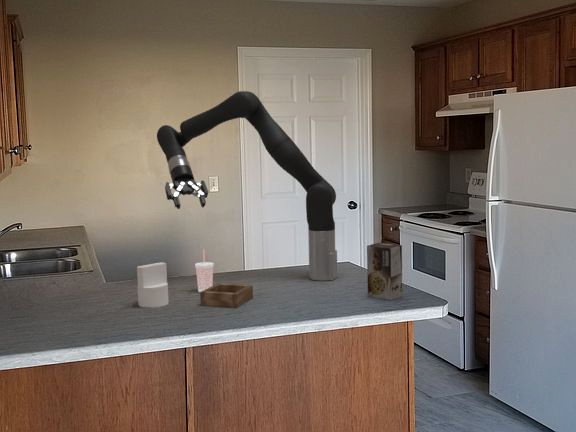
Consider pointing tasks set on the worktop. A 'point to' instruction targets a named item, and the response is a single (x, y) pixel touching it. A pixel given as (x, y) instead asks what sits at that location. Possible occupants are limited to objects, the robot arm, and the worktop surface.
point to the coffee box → (384, 271)
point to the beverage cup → (204, 274)
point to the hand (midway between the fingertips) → (191, 206)
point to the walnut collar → (226, 295)
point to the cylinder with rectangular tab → (152, 285)
